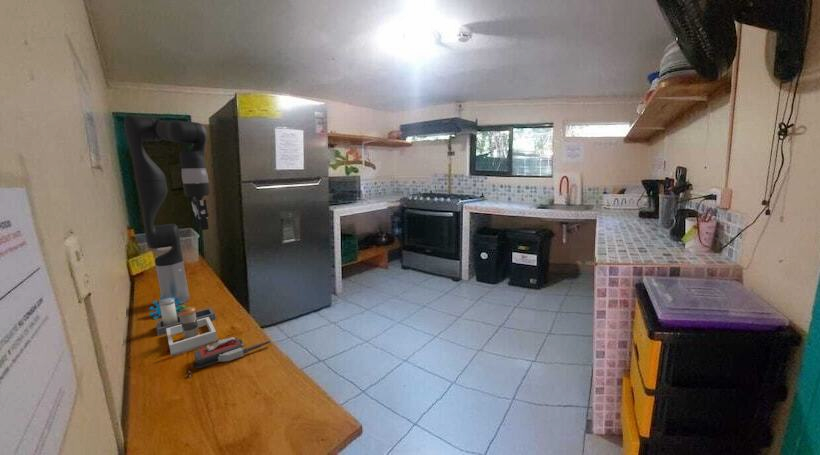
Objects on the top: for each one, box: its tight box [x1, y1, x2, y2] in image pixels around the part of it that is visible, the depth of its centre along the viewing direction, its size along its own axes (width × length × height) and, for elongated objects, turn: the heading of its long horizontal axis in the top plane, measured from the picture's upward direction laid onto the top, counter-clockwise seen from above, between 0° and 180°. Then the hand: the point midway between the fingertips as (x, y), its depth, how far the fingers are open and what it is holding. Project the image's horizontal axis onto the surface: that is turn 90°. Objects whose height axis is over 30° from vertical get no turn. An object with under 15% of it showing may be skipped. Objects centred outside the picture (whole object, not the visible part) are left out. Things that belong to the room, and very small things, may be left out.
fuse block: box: [156, 307, 217, 337], centre depth 113 cm, size 17×9×3 cm, turn 130°
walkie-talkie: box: [192, 336, 271, 369], centre depth 94 cm, size 9×4×20 cm
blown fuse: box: [178, 306, 201, 340], centre depth 102 cm, size 4×4×10 cm
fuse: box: [158, 298, 178, 327], centre depth 109 cm, size 4×4×10 cm
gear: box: [148, 295, 187, 320], centre depth 122 cm, size 11×6×10 cm
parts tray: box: [166, 317, 219, 357], centre depth 103 cm, size 14×12×4 cm
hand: (202, 228), depth 112 cm, fingers open, 8 cm apart
